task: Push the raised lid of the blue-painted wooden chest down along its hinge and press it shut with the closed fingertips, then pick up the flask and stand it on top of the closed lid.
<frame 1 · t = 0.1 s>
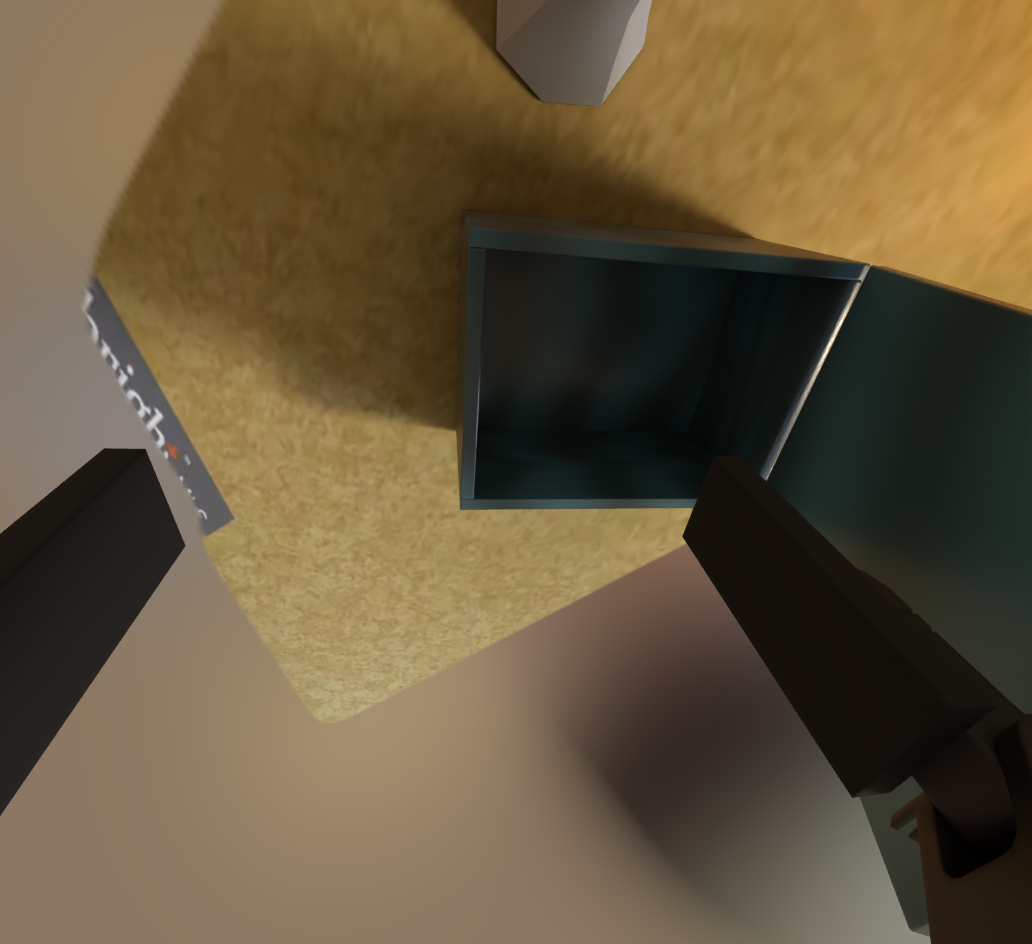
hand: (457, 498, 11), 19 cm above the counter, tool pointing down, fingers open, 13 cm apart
flask: (572, 7, 20), on the counter
lid: (895, 515, 15), point 18 cm above the counter, hinge at 70.0°
chest: (594, 342, 29), on the counter
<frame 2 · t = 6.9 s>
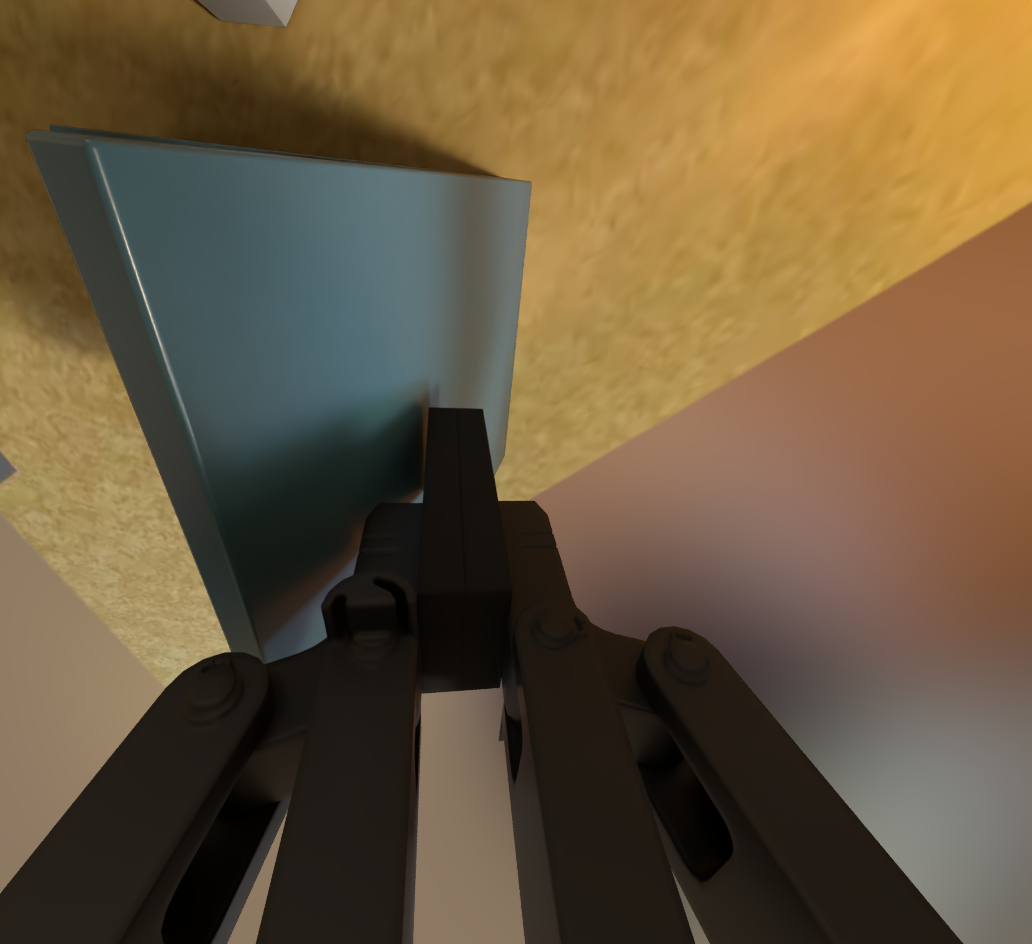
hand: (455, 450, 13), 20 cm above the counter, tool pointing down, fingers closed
lid: (443, 415, 15), point 18 cm above the counter, hinge at 69.1°, touching gripper
chest: (356, 287, 28), on the counter
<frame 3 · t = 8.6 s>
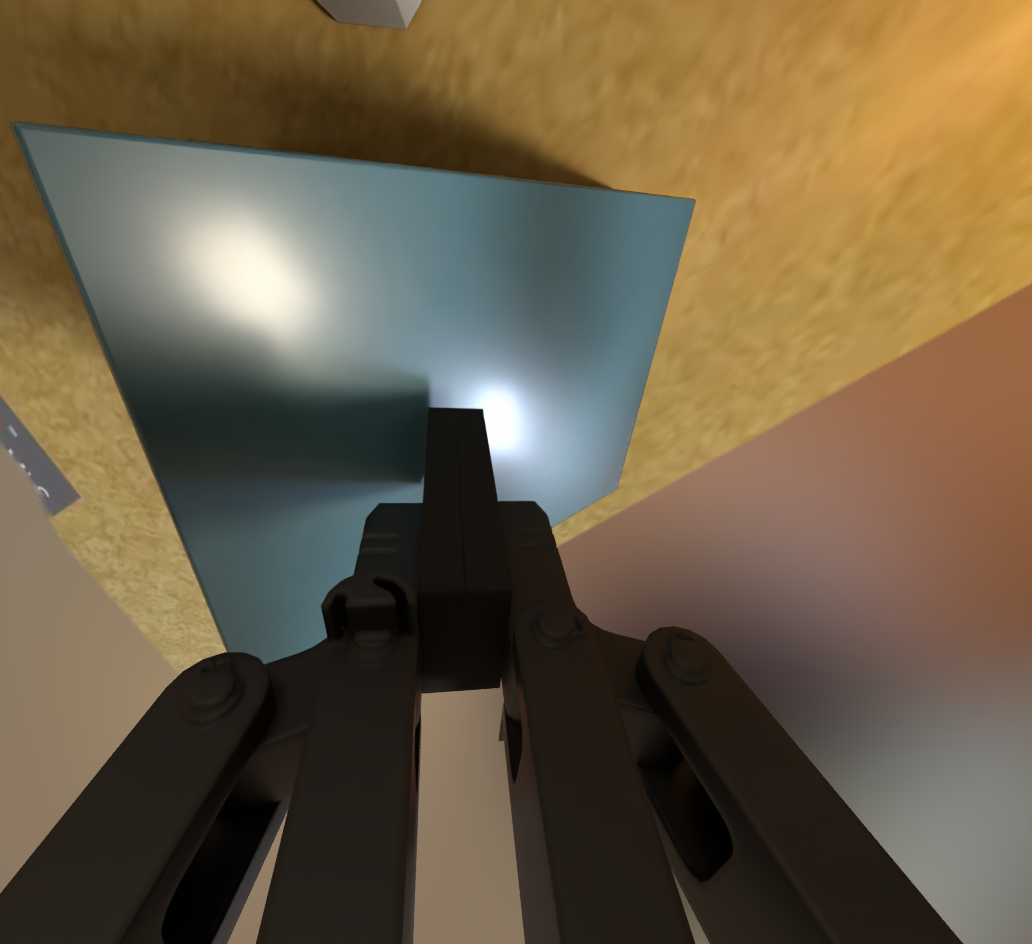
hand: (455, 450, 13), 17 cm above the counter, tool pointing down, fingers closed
lid: (495, 415, 15), point 14 cm above the counter, hinge at 35.9°, touching gripper
chest: (450, 305, 27), on the counter
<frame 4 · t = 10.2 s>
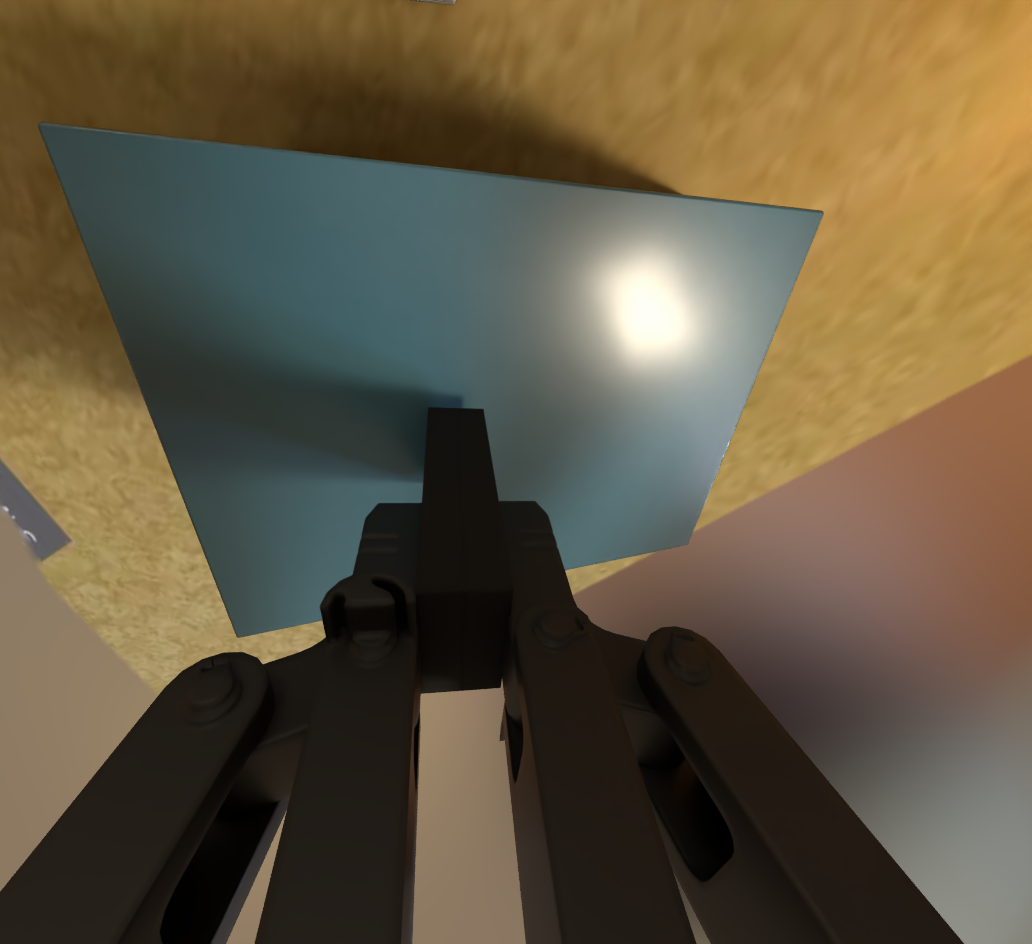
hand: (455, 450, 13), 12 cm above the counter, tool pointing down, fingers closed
lid: (514, 429, 14), point 11 cm above the counter, hinge at 12.3°
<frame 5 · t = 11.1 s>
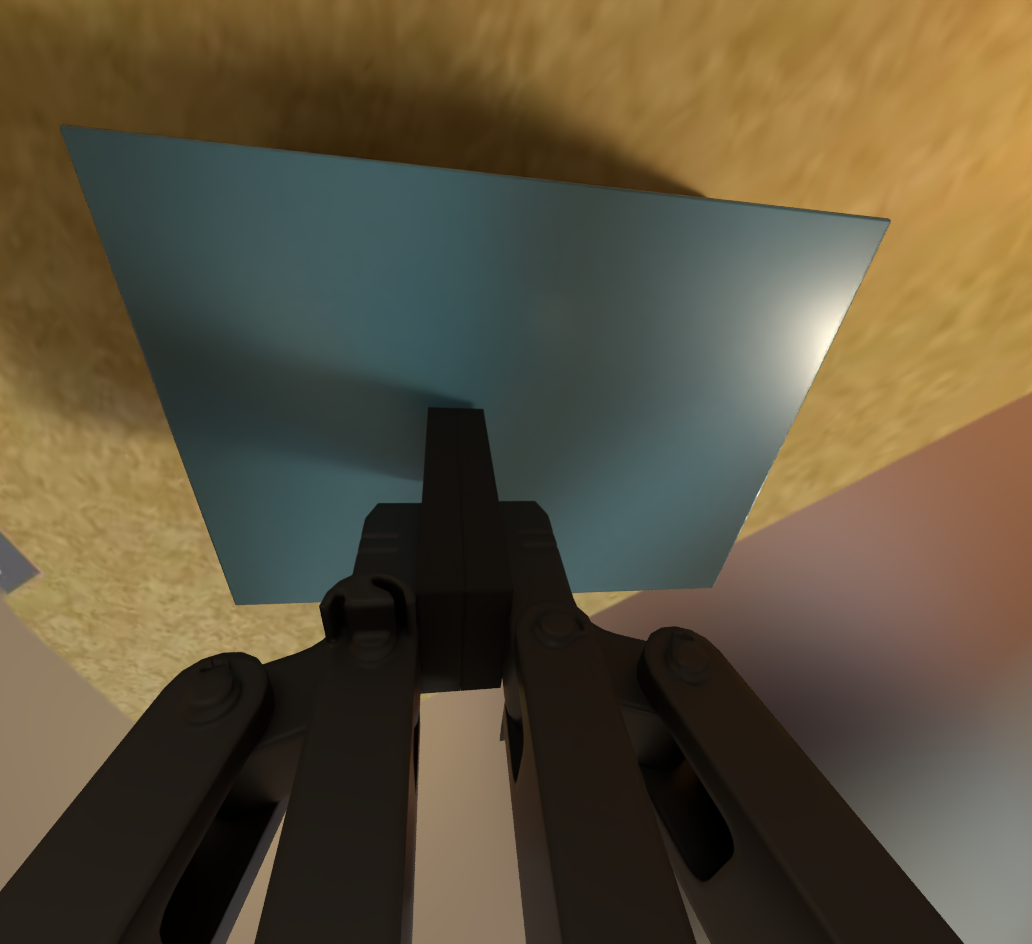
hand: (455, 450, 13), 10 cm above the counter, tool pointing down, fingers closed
lid: (508, 438, 14), point 9 cm above the counter, hinge at -0.2°, touching chest, gripper
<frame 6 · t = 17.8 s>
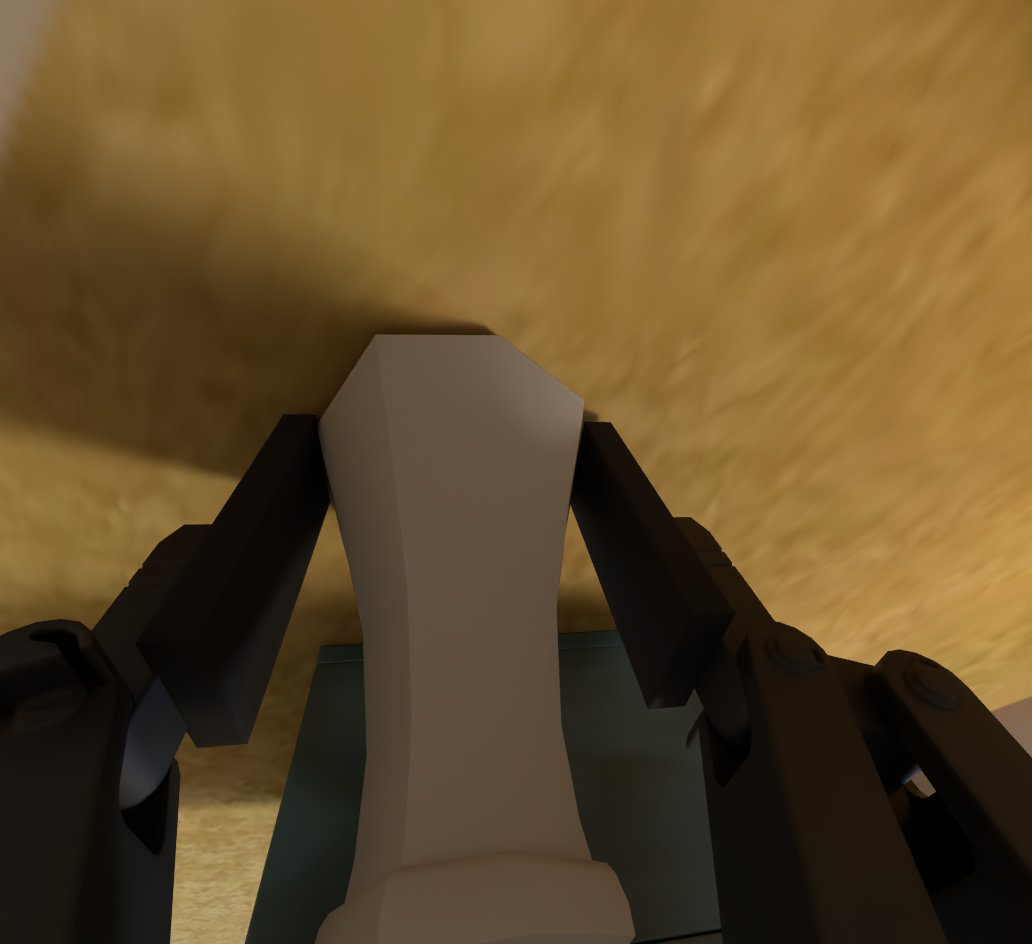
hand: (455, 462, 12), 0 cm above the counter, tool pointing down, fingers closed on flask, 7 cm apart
flask: (455, 450, 13), on the counter, touching gripper
chest: (532, 722, 21), on the counter
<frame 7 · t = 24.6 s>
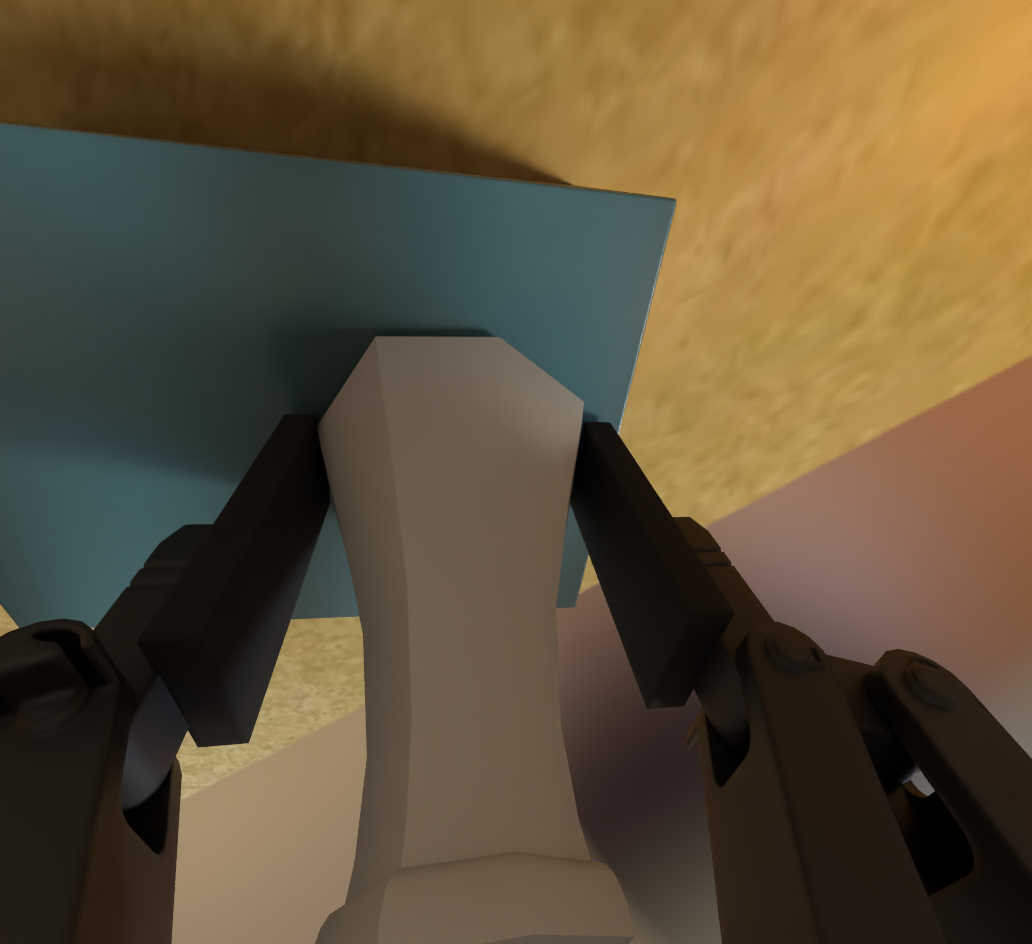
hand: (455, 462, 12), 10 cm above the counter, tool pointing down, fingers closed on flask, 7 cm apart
flask: (455, 451, 13), point 9 cm above the counter, touching gripper
lid: (292, 448, 12), point 9 cm above the counter, hinge at -0.2°, touching chest, gripper
chest: (359, 343, 20), on the counter
when the fingers open (11 cm above the counter, at t = 30.1 s): flask stays where it is, resting on lid.
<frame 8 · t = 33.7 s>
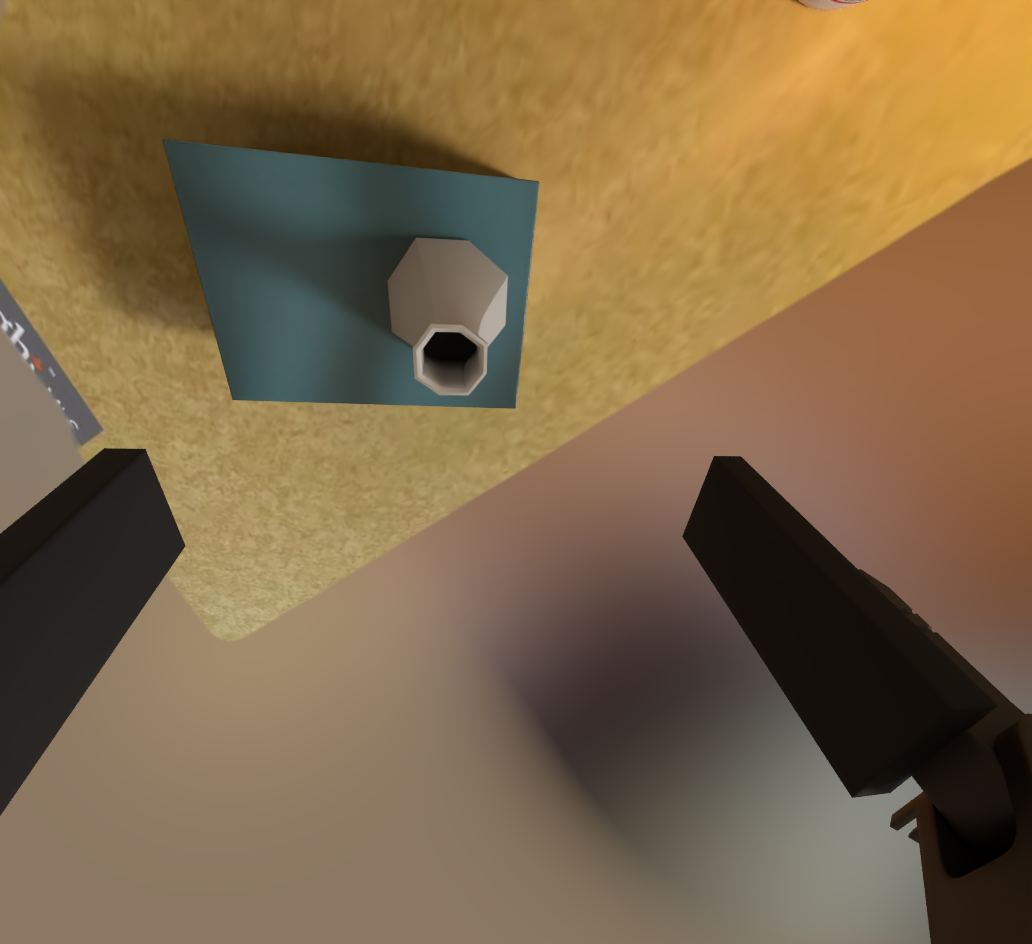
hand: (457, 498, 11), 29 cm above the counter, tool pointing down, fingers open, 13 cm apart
flask: (448, 302, 27), point 9 cm above the counter, touching lid
lid: (373, 298, 27), point 9 cm above the counter, hinge at -0.2°, touching chest, flask
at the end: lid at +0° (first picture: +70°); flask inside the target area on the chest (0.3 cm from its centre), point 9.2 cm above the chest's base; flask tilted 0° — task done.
